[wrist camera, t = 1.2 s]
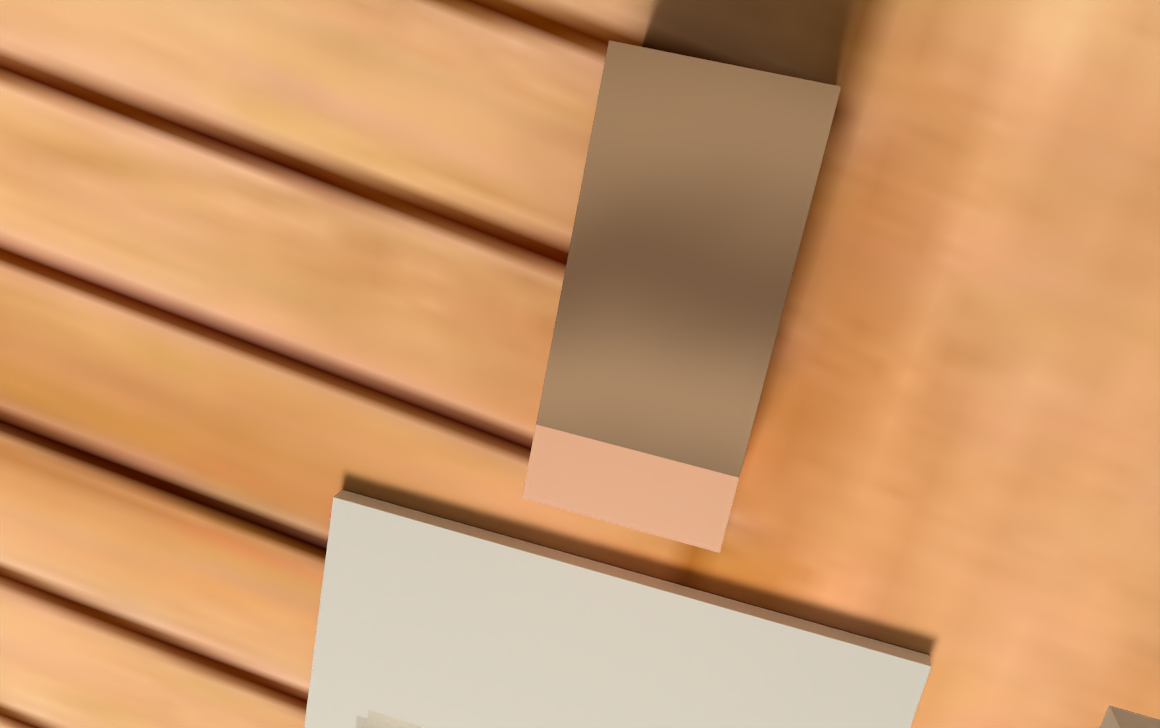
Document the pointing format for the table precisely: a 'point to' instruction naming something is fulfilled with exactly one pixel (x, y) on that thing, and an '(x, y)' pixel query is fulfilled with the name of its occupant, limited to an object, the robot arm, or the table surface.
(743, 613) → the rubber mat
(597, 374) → the walnut block
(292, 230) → the table surface
